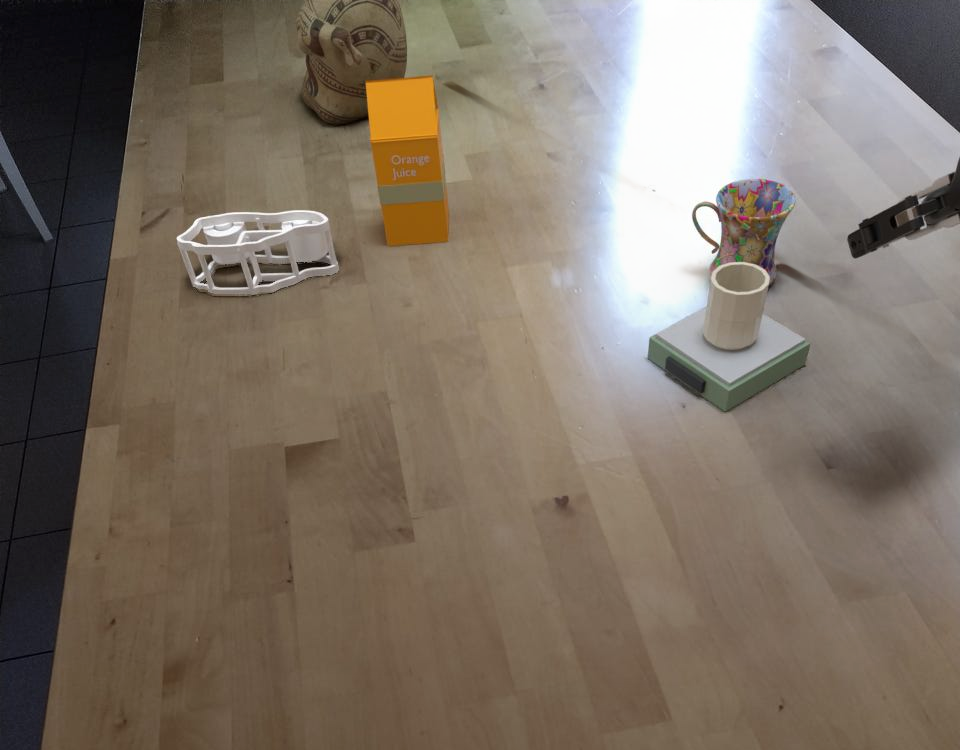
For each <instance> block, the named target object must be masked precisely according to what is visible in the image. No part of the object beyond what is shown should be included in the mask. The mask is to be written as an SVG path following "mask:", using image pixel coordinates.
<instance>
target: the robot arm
mask: <svg viewBox="0 0 960 750" xmlns="http://www.w3.org/2000/svg"><path fill="white" fill-rule="evenodd" d="M920 199H923V200H922V201H921V203H920V202H919V200H920ZM925 224H926V225H925ZM958 225H960V156H959V158H958V159H957V163H956V168H955V171H953V172H950V173H948V174H946V175H943V176H941V177H939V178H937V179H935V180H934V181H933V183H932V184H931V185H930V186H929V185H928V186H927V187H925V188H923V189H920V190H919V191H916V192H914V193H912V194H909V195H908V196H905V197H903V198H901V199H900V200H899V201H898V202H897V203H895V204H894V205H892V206H890V207H888V208H886V209H884V210H882V211H881V212H879V213H877V214H874V215H873V216H871V217H867V218H864V219H862V221H861V222H859V223H858V229H856V230H855V231H852V232H851V233H849V234H848V235H847V238H846V241H847V245H848V248H849V252H850V254H851V256H852V258H853V259H854V260H855V259H859V258H862V257H863V256H866V255H868V254H870V253H874V252H876V251H878V249H881V248H882V249H885V248H888V247H890V245H891V244H893V243H895V242H897V241H900V240H902V239H904V238H905V239H907V240H909V241H915V240H917V239H920V238H922V237H924V236H927V235H929V234H932V233H934V232H936V231H938V230H941V229H943V228H945V229H950V228H953V227H955V226H958ZM925 226H926V227H925ZM922 227H924V228H922Z"/></svg>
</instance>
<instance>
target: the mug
mask: <svg viewBox="0 0 960 750" xmlns="http://www.w3.org/2000/svg"><path fill="white" fill-rule="evenodd" d="M796 199H797V198H796V195H795V193H794V192H793V191H792V190H791V189H790V188H789V187H788V186H786V185H784V184H782V183H781V182H777V181H774V180H771V179H766V178H765V179H764V178H746V179H745V178H744V179H739V180H735V181H733V182H730V183H728V184H726V185H723V187H721V189H720V190H719V191H718V192H717V194H716V198H715V202H716V204H714V203H713V202H710V201H702V202H699V203H697V204H696V205H695V206H694V208H693V210H692V213H691V219H692V222H693V225H694V227H695V229H696V231H697V233H698V234H699V235H700V237H702V239H703V240H704V241H706V242H707V243H708V244H710V245H711V246H713V247H714V248H713V249H712V250H711V254H712V255H714V254H716V253H717V254H716V255H715V257H714V259H713V260H712V262H711V264H710V266H709V268H708V273H709V277H710V278H711V275H712V272H713V271H714V270H715V269H716V268H717V267H719V266H720V265H724V264H727V263H730V262H747V263H751V264H755V265H758V266H759V267H761V268H763V269H765V270H766V272H767V273H768V275H769V276H770V280H769V286H770V285H772V284H773V282H774V281H775V279H776V277H777V275H778V272H777V271H778V269H777V266H776V262H775V249H776V244H777V239H778V236H779V234H780V231H781V229H782V227H783V225H784V224H785V221H786V220H787V218H788V217H789V215H790V214H791V212H792V211H793V209H794V208H795V206H796V202H797V200H796ZM702 207H707V208H710V209H712V210H713V211H714V212H715V213H716V216H717V218H718V222H719V223H720V225H721V229H720V231H721V233H720V234H721V235H720V242H719V243H718V242H717V241H715V240H714V239H713V238H711V237H710V236H709V235H707V234H706V232H704V229H702V227H701V225H700V224H699V220H698V219H697V210H698V209H700V208H702Z"/></svg>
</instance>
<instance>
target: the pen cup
mask: <svg viewBox="0 0 960 750" xmlns="http://www.w3.org/2000/svg"><path fill="white" fill-rule="evenodd" d="M769 280H770V276H769V275H768V273H767V272H766V270H765V269H763V268H761V267H759V266H758V265H755V264H751V263H747V262H730V263H727V264H724V265H720V266H719V267H717V268H716V269H715V270H714V271H713V272H712V275H711V277H710V281H709V287H708V294H707V299H706V300H707V301H706V306H707V307H706V306H705V307H706V314H705V320H704V327H703V334H704V336H705V338H706V340H707V341H709V342H710V343H711V344H712V345H714V346H715V347H717V348H720V349H724V350H738V349H742V348H744V347H746V346H748V345H750V344H752V343H753V342H754V341H755V340H756V339H757V338H758V334H759V329H760V324H761V320H762V315H763V314H764V310H765V305H766V300H767V295H768V290H769V286H770V285H769Z"/></svg>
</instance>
